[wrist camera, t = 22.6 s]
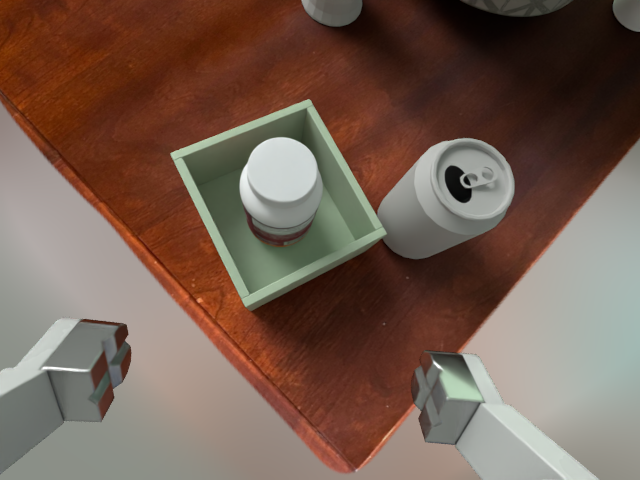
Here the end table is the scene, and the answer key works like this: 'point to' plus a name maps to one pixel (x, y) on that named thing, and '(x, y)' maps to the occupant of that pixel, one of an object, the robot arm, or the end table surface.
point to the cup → (628, 13)
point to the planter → (518, 6)
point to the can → (446, 198)
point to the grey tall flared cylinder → (333, 11)
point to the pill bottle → (280, 191)
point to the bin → (230, 220)
